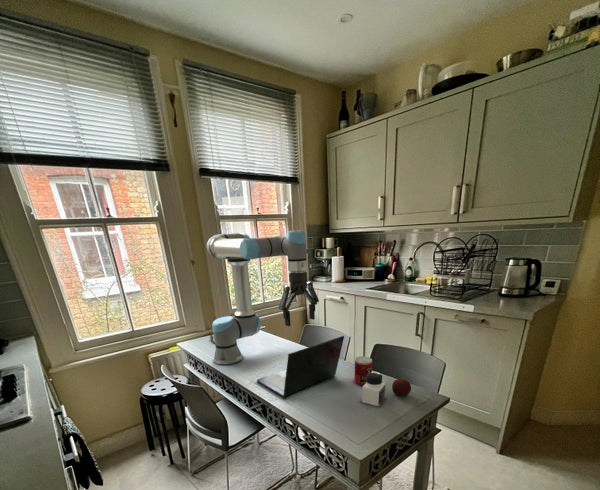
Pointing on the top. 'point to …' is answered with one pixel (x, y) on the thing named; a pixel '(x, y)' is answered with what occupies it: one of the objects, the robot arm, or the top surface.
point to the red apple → (401, 387)
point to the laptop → (280, 383)
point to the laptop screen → (312, 365)
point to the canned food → (362, 369)
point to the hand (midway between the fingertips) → (300, 322)
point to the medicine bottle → (373, 389)
